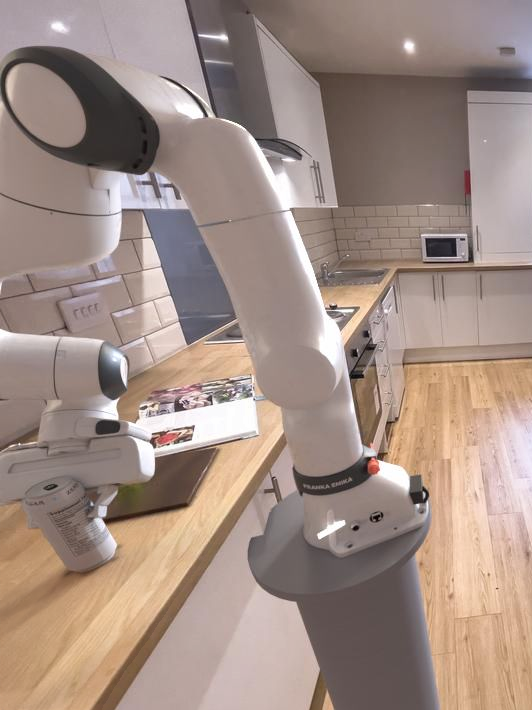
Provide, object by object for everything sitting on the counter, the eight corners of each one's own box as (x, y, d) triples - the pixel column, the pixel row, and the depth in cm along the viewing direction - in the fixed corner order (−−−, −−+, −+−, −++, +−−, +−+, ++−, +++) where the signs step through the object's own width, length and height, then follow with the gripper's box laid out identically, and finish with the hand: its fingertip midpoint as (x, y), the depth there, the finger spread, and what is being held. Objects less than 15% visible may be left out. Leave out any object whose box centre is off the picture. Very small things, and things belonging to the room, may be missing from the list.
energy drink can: (104, 541, 70) (62, 470, 63) (128, 550, 68) (86, 477, 62) (60, 569, 65) (8, 494, 58) (83, 579, 63) (33, 503, 56)
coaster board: (218, 449, 95) (217, 446, 95) (188, 505, 78) (187, 502, 77) (113, 468, 89) (111, 465, 89) (55, 532, 72) (53, 529, 72)
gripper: (-22, 442, 61) (-43, 538, 57) (139, 420, 66) (132, 507, 62) (17, 450, 67) (1, 538, 63) (162, 430, 72) (157, 510, 68)
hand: (67, 523), depth 62 cm, fingers closed on energy drink can, 6 cm apart
